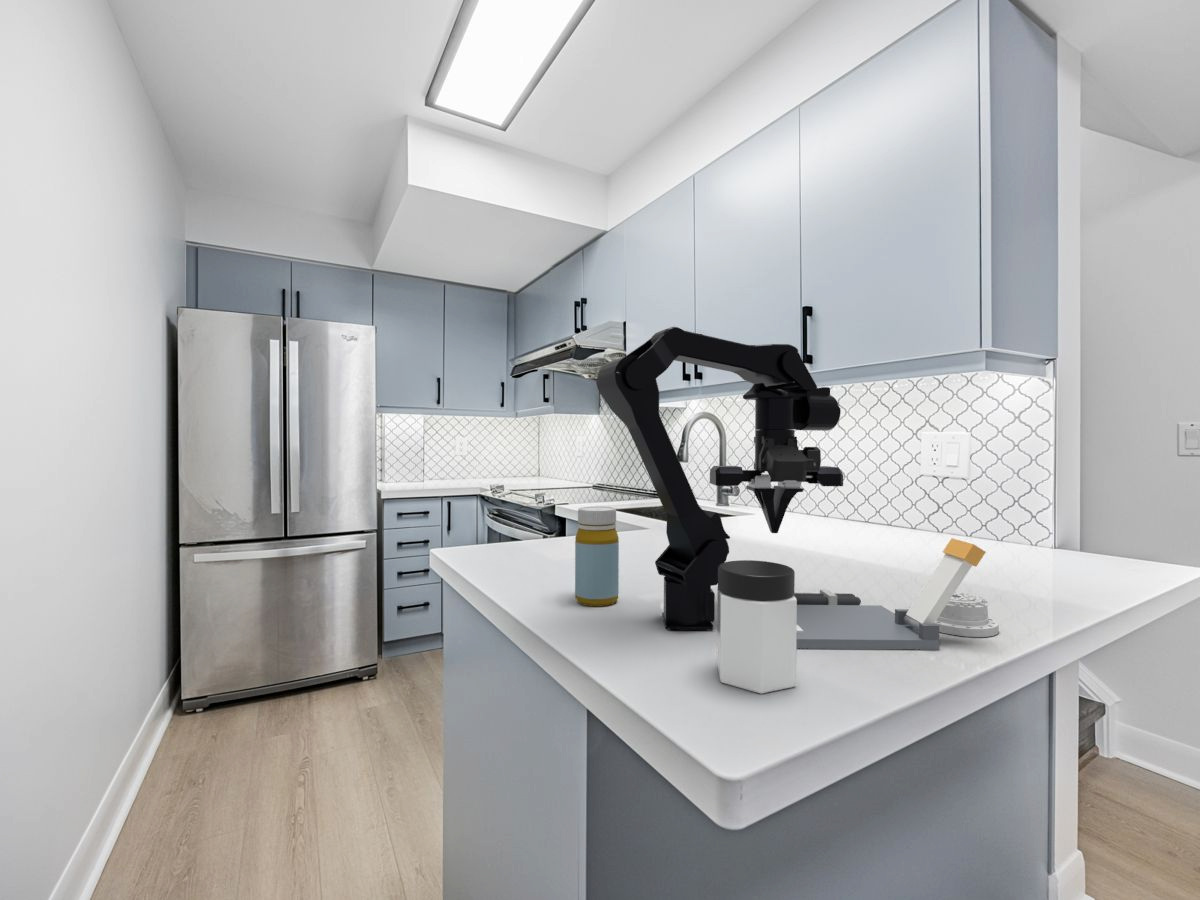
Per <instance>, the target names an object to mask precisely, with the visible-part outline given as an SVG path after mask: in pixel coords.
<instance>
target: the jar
mask: <svg viewBox="0 0 1200 900" xmlns="http://www.w3.org/2000/svg"><path fill="white" fill-rule="evenodd" d="M795 575H796V572H795V570H794V568H792V567H790V566H789V565H785V564H782V563H778V562H772V561H764V560H750V559H749V560H748V559H746V560H745V559H743V560H731V561H730V560H729V561H725V562H724V563H722V564H720V565H719V566H718V573H717V582H718V584H717V594H716V595H717V597H716V598H717V599H716V600H717V603H716V604H717V610H716V611H717V612H716V613H717V617H716V618H717V624H716V625H717V626H716V627H717V628H716V630H717V633H716V634H717V635H716V636H717V637H716V640H717V641H716V649H717V650H716V666H717V671H718V676H719V681H720V682H721V683H722V684H725V685H729V686H732V687H736V688H740V689H742V690H743V689H744V690H746V691H750V692H753V693H757V694H766V693H770V692H776V691H780V690H786V689H791V688H795V687H796V686H797V649H796V632H797V599H796V598H795V596H794V593H795V584H796V583H795V578H796V577H795Z"/></svg>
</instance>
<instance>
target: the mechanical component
mask: <svg viewBox="0 0 1200 900" xmlns="http://www.w3.org/2000/svg"><path fill="white" fill-rule="evenodd" d="M988 610H989V609H988V600H986V598H982V597H981V596H977V595H973V594H970V593H964V592H960V591H955V593H954V594H953V596H952V597H951V599H950V600H949V602H948V603H947V605H946V606H945V608H944V609H943V611H942V612H941V614H940V615H939V617H938V618H937V620H936V621H935V624H937V625H939V633H943V634H947V635H952V636H953V635H954V636H960V637H969V638H970V637H971V638H972V637H973V638H986V637H987V638H989V637H993V636H996V635H998V633H999V630H1000V629H999V622H998V620H996V619H994V618H992V617H990V616H989V613H988Z"/></svg>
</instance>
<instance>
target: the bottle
mask: <svg viewBox="0 0 1200 900" xmlns="http://www.w3.org/2000/svg"><path fill="white" fill-rule="evenodd" d="M577 522H578V523H577V527H578V528H577V529H578V530H577V532H576V534H575V537H574V538H575V542H574V543H575V544H574V547H575V548H574V550H575V551H574V553H575V554H574V555H575V556H574V568H575V569H574V573H575V574H574V580H575V582H574V589H575V590H574V593H575V595H574V596H575V600H576V601H577V602H578V603H579V604H580V603H581V605H583V606H586V607H607V606H611V605H613V603H614V604H615V603H616V602H617V600H618V599H619V590H620V589H619V583H620V581H619V577H620V576H619V575H620V574H619V573H620V569H619V567H620V566H619V559H620V557H619V554H620V552H619V550H620V548H619V547H620V545H619V543H620V541H619V540H620V539H619V534H618V532H617V529H616V528H617V523H616V522H617V508H616V507H611V506H582V507H578V509H577Z"/></svg>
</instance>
